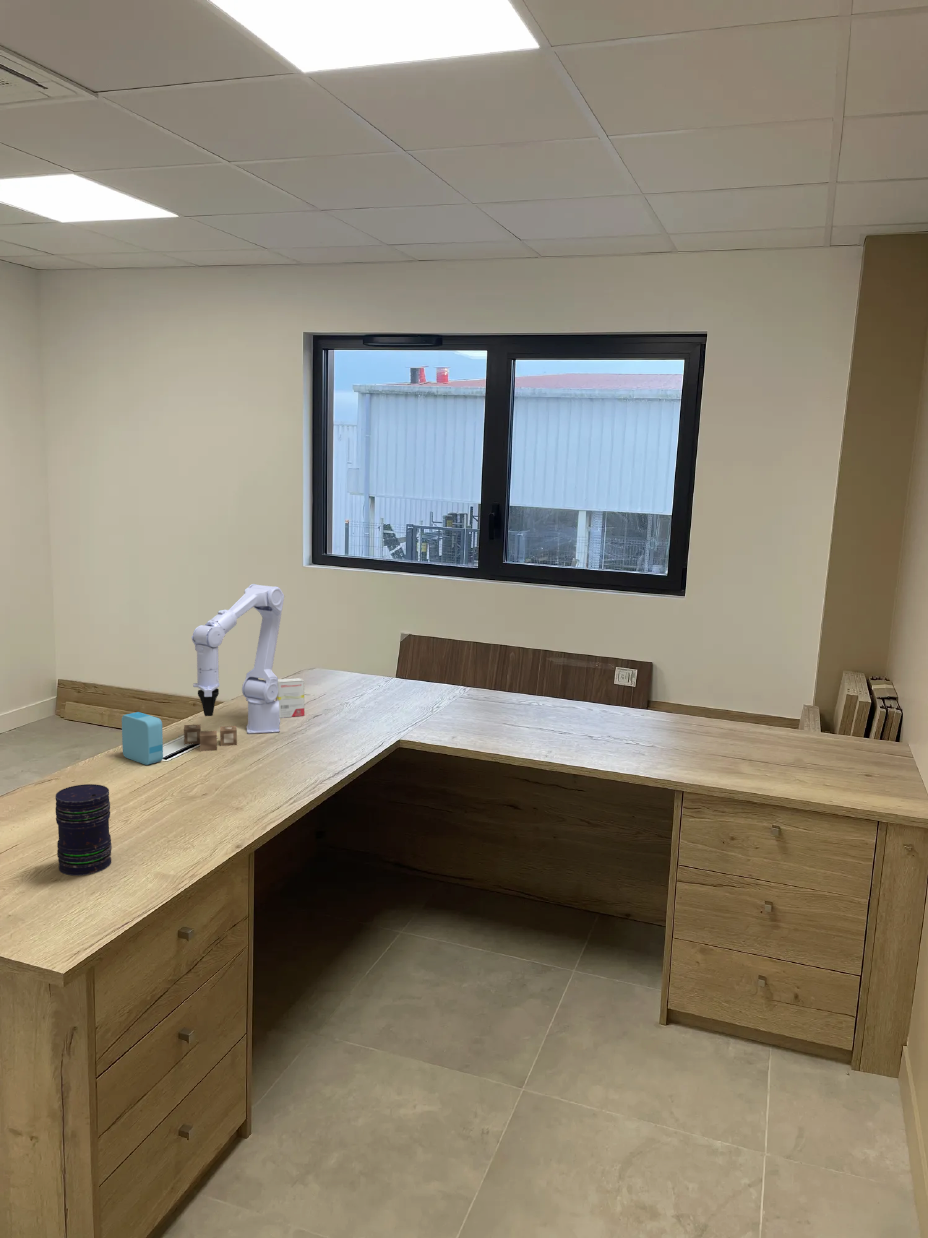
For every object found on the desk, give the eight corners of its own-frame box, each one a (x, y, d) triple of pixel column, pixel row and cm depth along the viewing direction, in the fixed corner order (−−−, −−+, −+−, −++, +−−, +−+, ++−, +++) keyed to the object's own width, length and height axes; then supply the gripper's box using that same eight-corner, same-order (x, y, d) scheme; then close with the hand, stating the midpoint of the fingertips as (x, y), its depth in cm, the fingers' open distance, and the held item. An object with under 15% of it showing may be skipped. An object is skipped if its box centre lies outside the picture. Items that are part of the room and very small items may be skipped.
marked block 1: (200, 739, 258) (200, 724, 257) (200, 744, 254) (200, 728, 253) (184, 740, 257) (184, 724, 256) (184, 745, 253) (183, 729, 252)
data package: (163, 762, 237) (162, 719, 235) (148, 766, 234) (147, 722, 232) (137, 753, 244) (135, 710, 242) (122, 756, 241) (121, 714, 239)
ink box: (301, 712, 290) (301, 677, 288) (304, 716, 286) (304, 680, 284) (274, 714, 287) (274, 678, 285) (278, 718, 282) (278, 682, 280)
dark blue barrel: (46, 870, 173) (42, 797, 170) (84, 850, 182) (81, 781, 179) (86, 879, 169) (83, 805, 167) (123, 859, 178) (120, 788, 176)
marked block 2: (236, 740, 258) (236, 725, 257) (236, 745, 254) (236, 729, 253) (220, 741, 257) (220, 726, 256) (220, 746, 252) (220, 730, 252)
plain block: (216, 745, 253) (216, 730, 252) (216, 750, 249) (216, 735, 248) (200, 746, 252) (200, 731, 251) (200, 751, 247) (199, 736, 247)
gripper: (193, 663, 253) (194, 709, 255) (192, 674, 239) (193, 723, 241) (219, 662, 254) (219, 708, 257) (219, 673, 241) (220, 722, 243)
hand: (208, 715), depth 249 cm, fingers closed
